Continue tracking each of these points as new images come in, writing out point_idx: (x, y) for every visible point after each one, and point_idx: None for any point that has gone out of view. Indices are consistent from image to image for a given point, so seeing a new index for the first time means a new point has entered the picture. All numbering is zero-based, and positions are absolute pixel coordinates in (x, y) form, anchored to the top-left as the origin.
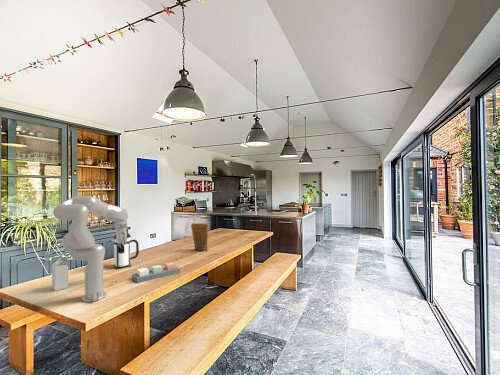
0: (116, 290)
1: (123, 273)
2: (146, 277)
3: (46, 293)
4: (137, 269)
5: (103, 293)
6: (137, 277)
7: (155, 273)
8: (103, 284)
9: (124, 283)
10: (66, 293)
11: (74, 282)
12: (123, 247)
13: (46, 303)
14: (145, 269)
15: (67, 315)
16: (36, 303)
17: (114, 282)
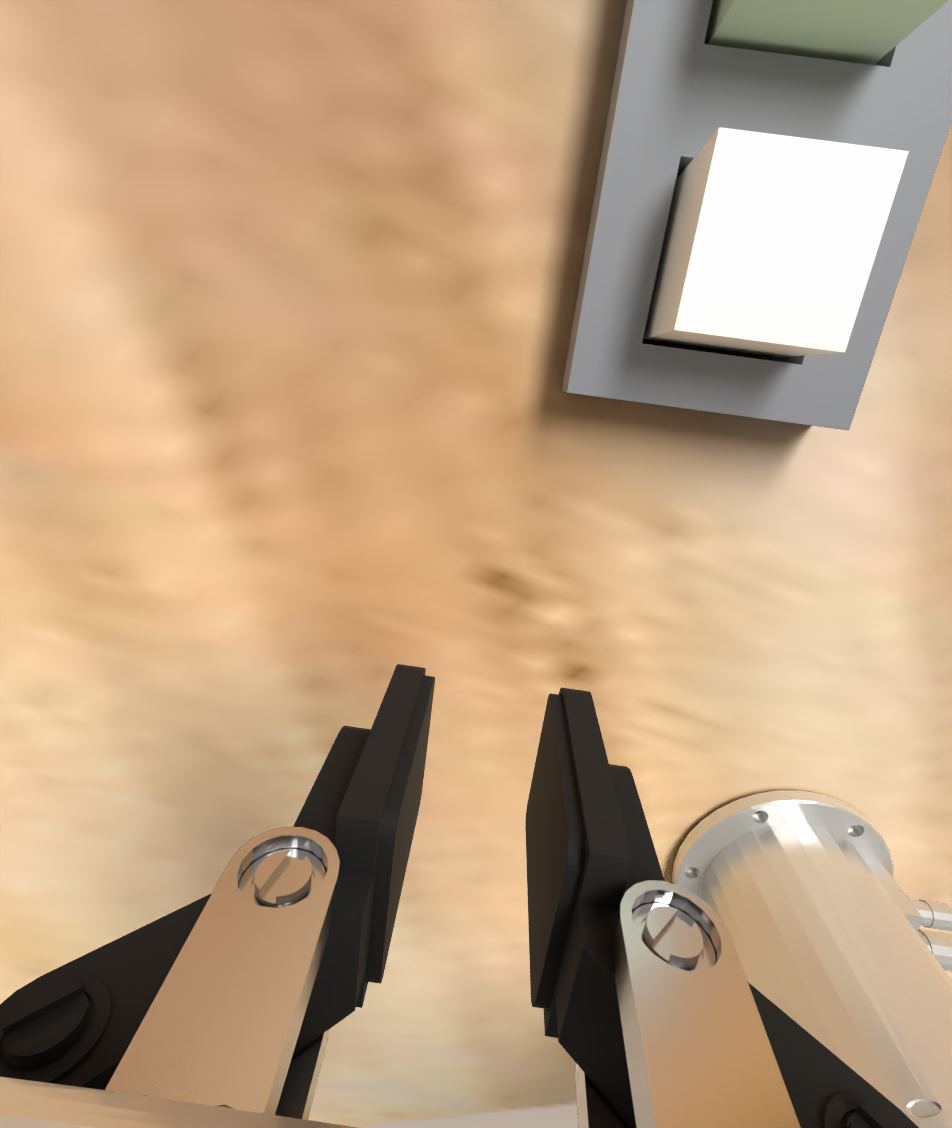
0: (800, 690)
1: (246, 385)
2: (890, 275)
3: (338, 1033)
4: (680, 324)
5: (836, 836)
6: (796, 403)
7: (915, 41)
8: (890, 918)
9: (665, 545)
10: (463, 962)
11: (200, 854)
12: (691, 934)
13: (565, 1075)
14: (830, 198)
15: None
16: (506, 1103)
17: (525, 609)
